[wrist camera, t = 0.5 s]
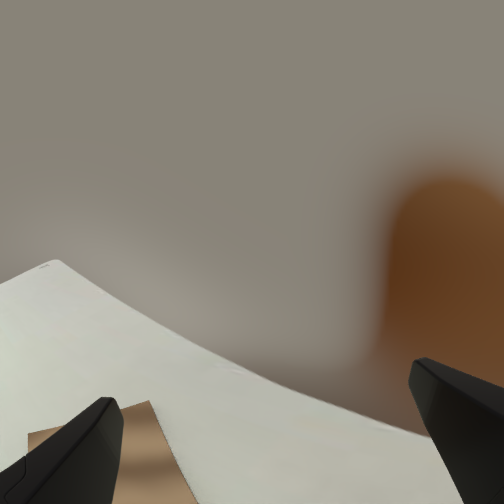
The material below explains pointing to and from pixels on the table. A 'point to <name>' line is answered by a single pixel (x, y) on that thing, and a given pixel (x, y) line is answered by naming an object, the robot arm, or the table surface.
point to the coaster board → (141, 461)
